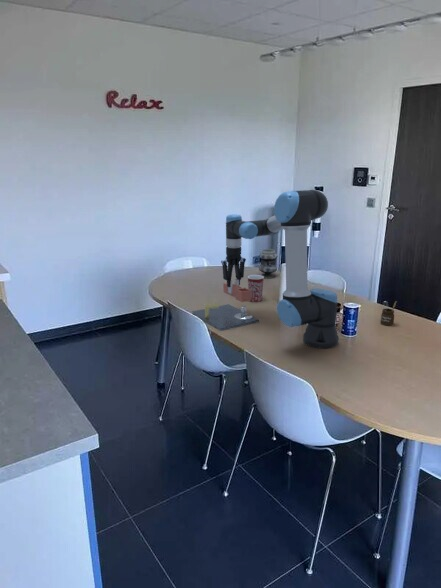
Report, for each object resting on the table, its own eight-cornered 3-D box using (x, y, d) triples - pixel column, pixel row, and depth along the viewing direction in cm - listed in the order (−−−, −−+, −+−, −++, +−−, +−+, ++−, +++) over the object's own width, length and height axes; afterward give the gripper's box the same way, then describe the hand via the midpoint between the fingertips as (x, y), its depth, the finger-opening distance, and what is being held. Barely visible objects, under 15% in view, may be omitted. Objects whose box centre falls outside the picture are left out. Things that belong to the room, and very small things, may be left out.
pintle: (246, 316, 226) (246, 307, 225) (242, 317, 225) (242, 308, 223) (244, 315, 228) (244, 306, 226) (240, 316, 227) (240, 306, 225)
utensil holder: (383, 320, 223) (386, 297, 219) (396, 324, 218) (398, 300, 215) (377, 323, 219) (380, 300, 215) (390, 327, 214) (393, 302, 211)
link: (221, 292, 236) (221, 283, 234) (230, 290, 238) (230, 281, 237) (241, 302, 220) (241, 292, 219) (251, 300, 223) (251, 290, 221)
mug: (259, 303, 249) (260, 279, 245) (244, 301, 253) (244, 277, 249) (268, 297, 260) (268, 274, 256) (253, 295, 264) (254, 272, 260)
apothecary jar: (277, 279, 297) (278, 251, 292) (259, 279, 298) (259, 252, 292) (275, 274, 309) (276, 248, 304) (258, 274, 309) (258, 248, 304)
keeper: (217, 317, 228) (217, 302, 226) (219, 321, 222) (218, 306, 220) (204, 318, 227) (204, 302, 225) (205, 322, 222) (205, 306, 219)
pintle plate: (260, 321, 222) (260, 319, 222) (220, 330, 211) (220, 328, 211) (229, 306, 245) (229, 303, 245) (192, 313, 234) (192, 311, 234)
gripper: (243, 243, 231) (242, 288, 238) (215, 247, 223) (215, 292, 230) (251, 246, 225) (250, 291, 232) (223, 249, 217) (223, 296, 224)
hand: (233, 292), depth 231 cm, fingers closed on link, 3 cm apart
